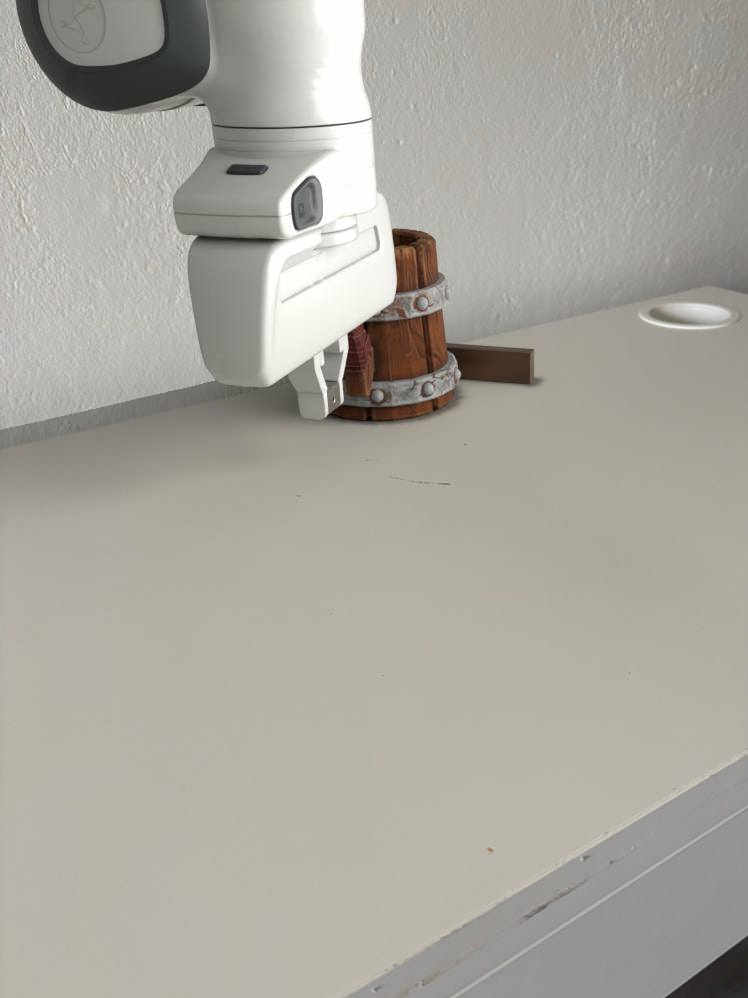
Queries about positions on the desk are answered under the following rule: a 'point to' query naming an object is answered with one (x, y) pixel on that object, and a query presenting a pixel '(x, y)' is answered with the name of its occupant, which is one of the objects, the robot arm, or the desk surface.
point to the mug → (403, 343)
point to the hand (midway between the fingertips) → (322, 412)
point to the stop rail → (494, 362)
